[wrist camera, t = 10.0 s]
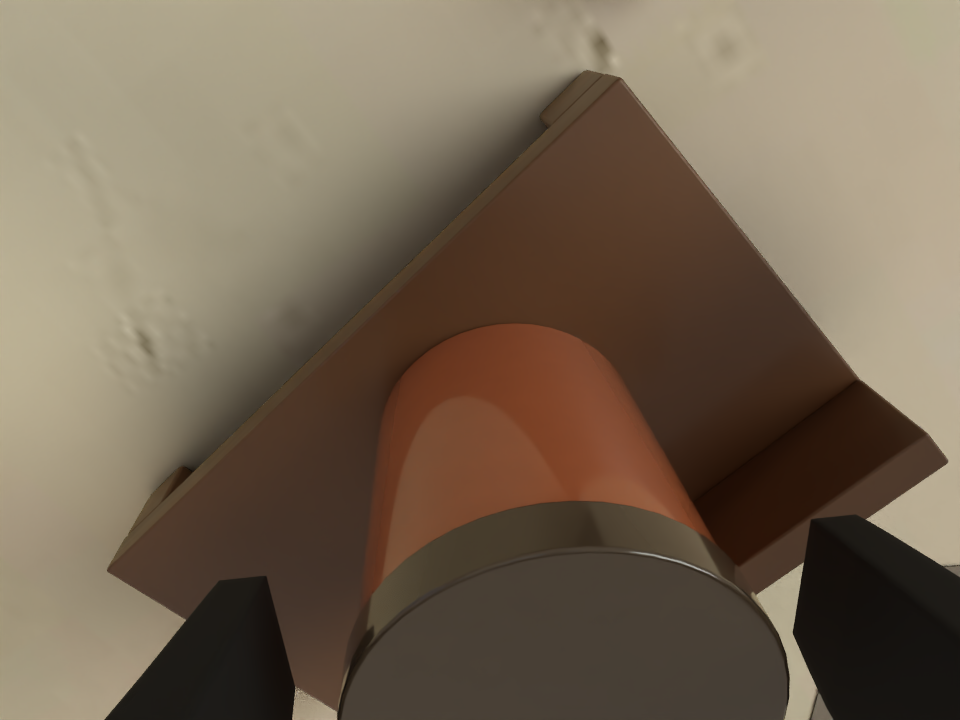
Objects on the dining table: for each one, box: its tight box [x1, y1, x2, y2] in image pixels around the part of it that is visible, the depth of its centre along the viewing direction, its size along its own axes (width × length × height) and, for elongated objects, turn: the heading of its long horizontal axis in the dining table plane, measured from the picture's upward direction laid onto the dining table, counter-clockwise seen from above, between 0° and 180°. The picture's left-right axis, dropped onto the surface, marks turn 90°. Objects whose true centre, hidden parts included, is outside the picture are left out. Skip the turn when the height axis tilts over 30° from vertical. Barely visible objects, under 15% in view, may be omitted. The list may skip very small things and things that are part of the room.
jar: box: [337, 323, 790, 720], centre depth 10 cm, size 5×5×6 cm
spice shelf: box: [107, 70, 948, 712], centre depth 14 cm, size 8×13×4 cm, turn 133°
